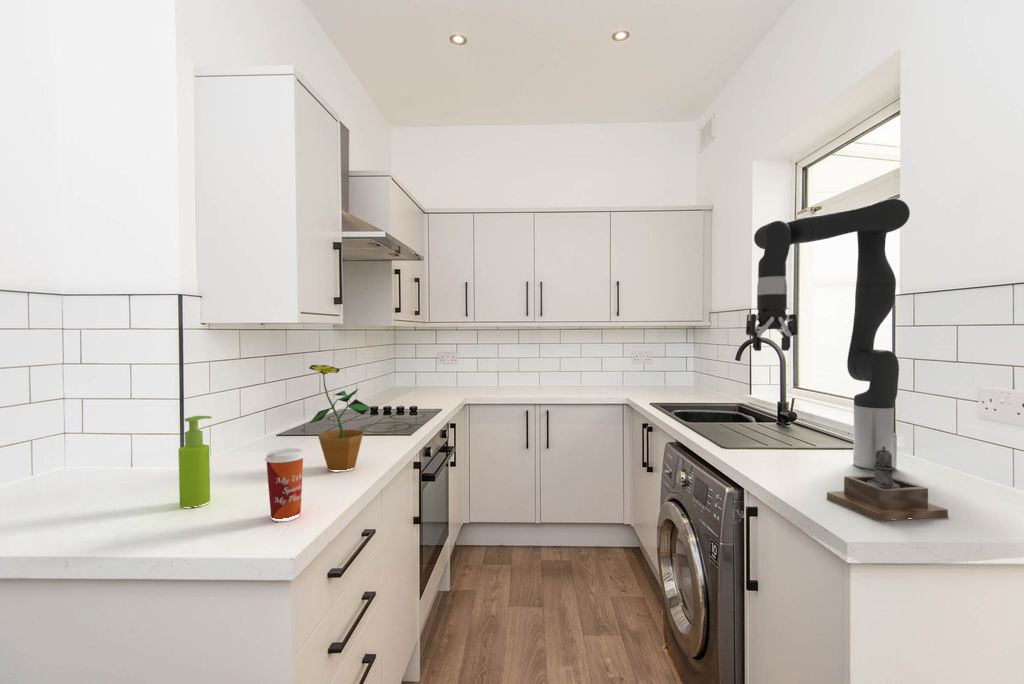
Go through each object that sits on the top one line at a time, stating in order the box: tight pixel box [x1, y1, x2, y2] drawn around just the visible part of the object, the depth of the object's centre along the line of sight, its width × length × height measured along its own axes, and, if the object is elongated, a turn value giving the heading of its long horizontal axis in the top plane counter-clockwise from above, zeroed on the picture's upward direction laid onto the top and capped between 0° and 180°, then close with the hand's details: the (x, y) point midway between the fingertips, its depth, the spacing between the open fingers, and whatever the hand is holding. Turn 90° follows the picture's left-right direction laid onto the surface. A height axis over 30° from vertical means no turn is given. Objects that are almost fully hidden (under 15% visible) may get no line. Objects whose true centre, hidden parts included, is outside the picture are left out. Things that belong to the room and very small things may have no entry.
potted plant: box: [308, 364, 371, 470], centre depth 142 cm, size 18×19×30 cm
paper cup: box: [264, 447, 306, 519], centre depth 106 cm, size 8×8×14 cm
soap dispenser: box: [178, 415, 213, 507], centre depth 114 cm, size 6×7×20 cm
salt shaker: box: [867, 446, 900, 489], centre depth 109 cm, size 6×6×12 cm
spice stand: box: [826, 474, 949, 522], centre depth 109 cm, size 16×14×6 cm
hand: (771, 350), depth 142 cm, fingers open, 8 cm apart
